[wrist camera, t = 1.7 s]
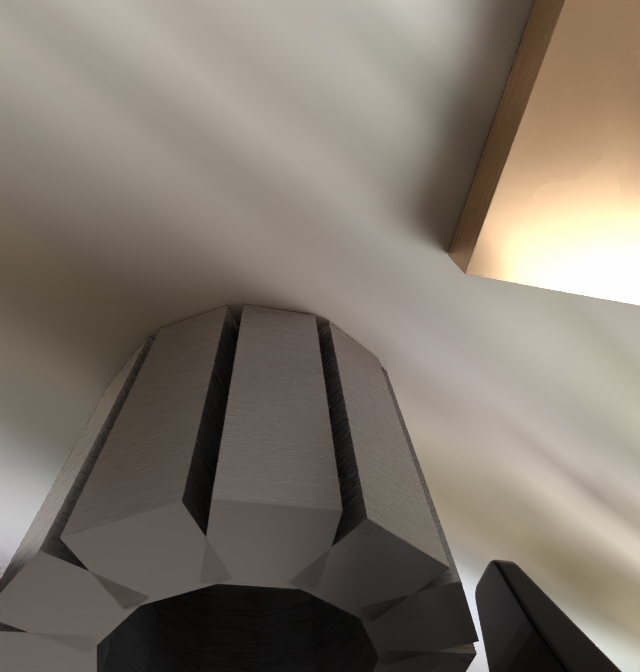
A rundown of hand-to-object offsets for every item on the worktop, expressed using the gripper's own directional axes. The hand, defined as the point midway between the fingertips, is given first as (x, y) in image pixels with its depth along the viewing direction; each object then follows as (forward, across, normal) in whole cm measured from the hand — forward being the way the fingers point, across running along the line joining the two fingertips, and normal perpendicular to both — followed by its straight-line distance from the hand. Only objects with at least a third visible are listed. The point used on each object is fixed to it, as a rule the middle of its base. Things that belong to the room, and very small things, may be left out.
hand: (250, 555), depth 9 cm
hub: (+3, 0, 0) cm, 3 cm away
